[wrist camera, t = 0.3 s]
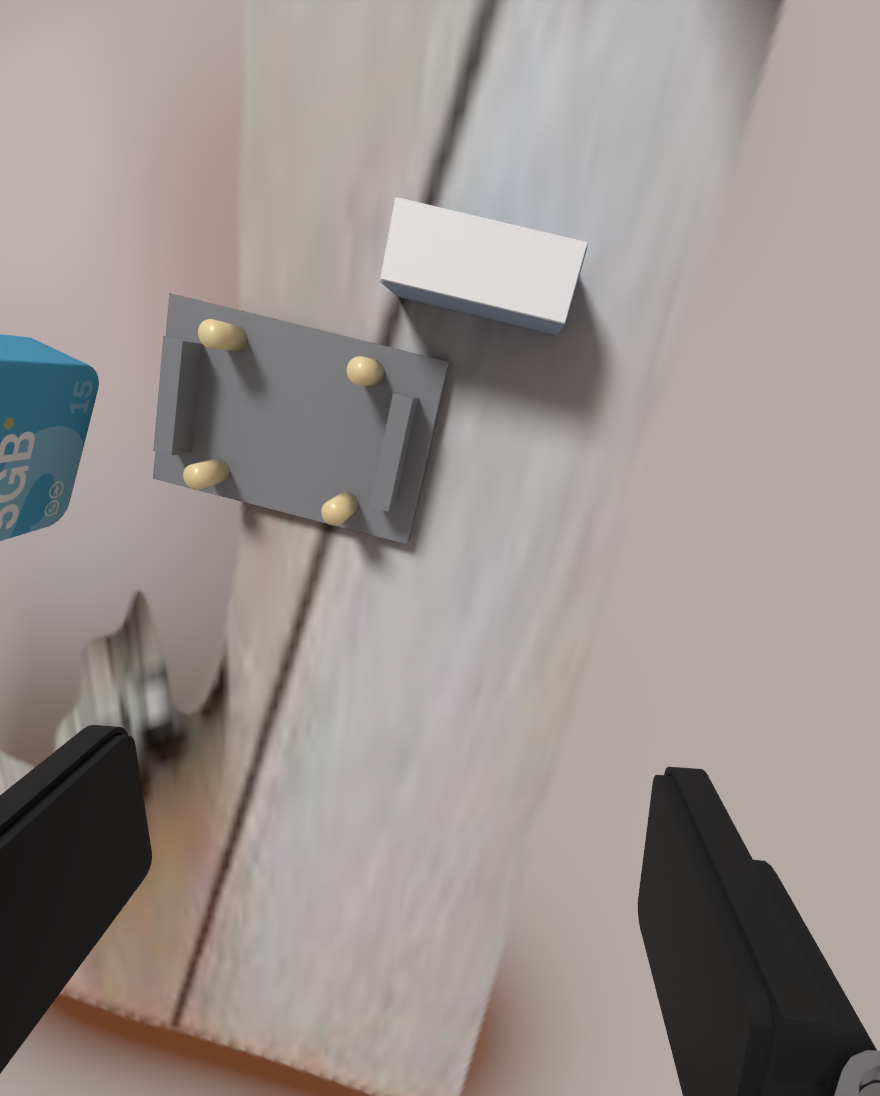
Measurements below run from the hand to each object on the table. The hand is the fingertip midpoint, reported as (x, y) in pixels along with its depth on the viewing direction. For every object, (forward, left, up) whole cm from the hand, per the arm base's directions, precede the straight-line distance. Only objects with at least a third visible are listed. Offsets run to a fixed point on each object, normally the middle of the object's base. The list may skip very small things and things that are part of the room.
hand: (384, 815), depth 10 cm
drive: (-13, -3, -29) cm, 32 cm away
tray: (-2, -13, -29) cm, 32 cm away
